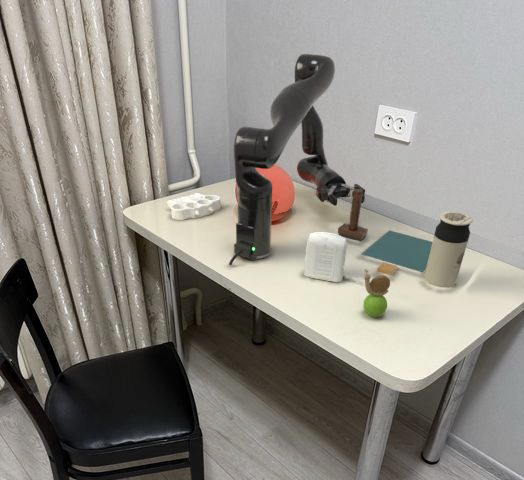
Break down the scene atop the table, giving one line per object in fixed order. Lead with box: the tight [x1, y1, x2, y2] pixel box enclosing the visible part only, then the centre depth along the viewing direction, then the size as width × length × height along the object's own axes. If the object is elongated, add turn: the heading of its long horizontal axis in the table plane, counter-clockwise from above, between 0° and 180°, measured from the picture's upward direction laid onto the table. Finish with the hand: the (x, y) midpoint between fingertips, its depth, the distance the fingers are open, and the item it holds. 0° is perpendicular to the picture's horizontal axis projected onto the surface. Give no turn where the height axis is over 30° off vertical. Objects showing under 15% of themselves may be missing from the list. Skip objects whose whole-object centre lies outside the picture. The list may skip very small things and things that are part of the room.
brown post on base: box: [337, 189, 369, 242], centre depth 145 cm, size 5×8×15 cm, turn 59°
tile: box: [361, 229, 433, 273], centre depth 142 cm, size 20×18×1 cm
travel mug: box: [423, 211, 473, 288], centre depth 123 cm, size 8×8×18 cm
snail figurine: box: [362, 268, 391, 317], centre depth 113 cm, size 5×6×12 cm
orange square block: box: [376, 261, 398, 276], centre depth 132 cm, size 4×4×2 cm
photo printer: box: [303, 231, 348, 283], centre depth 127 cm, size 10×4×12 cm, turn 73°
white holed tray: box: [166, 192, 222, 221], centre depth 164 cm, size 3×18×15 cm
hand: (349, 201), depth 147 cm, fingers open, 8 cm apart
